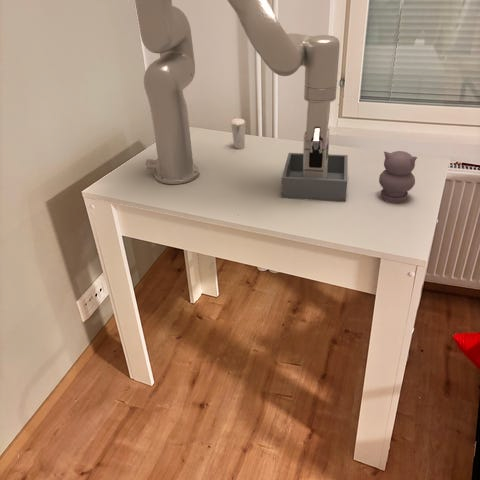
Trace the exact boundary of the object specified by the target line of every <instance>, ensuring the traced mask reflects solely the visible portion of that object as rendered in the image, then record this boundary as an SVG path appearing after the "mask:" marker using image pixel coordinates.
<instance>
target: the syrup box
mask: <svg viewBox="0 0 480 480" xmlns="http://www.w3.org/2000/svg"><path fill="white" fill-rule="evenodd" d="M313 140H314V139H313ZM319 140H321V139H319ZM319 145H320V144H319ZM329 145H330V128H328V130H327V135H326V140H325V142H324V143H322V152H323V157H322V167H321V168H311V167H309V152H310V149H311V141H310V142H308V143H307V142H306V131H305V132H304V134H303V149H302V151H303V152H302V153H303V178H321V179H327V170H328V154H329V147H330V146H329Z"/></svg>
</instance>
